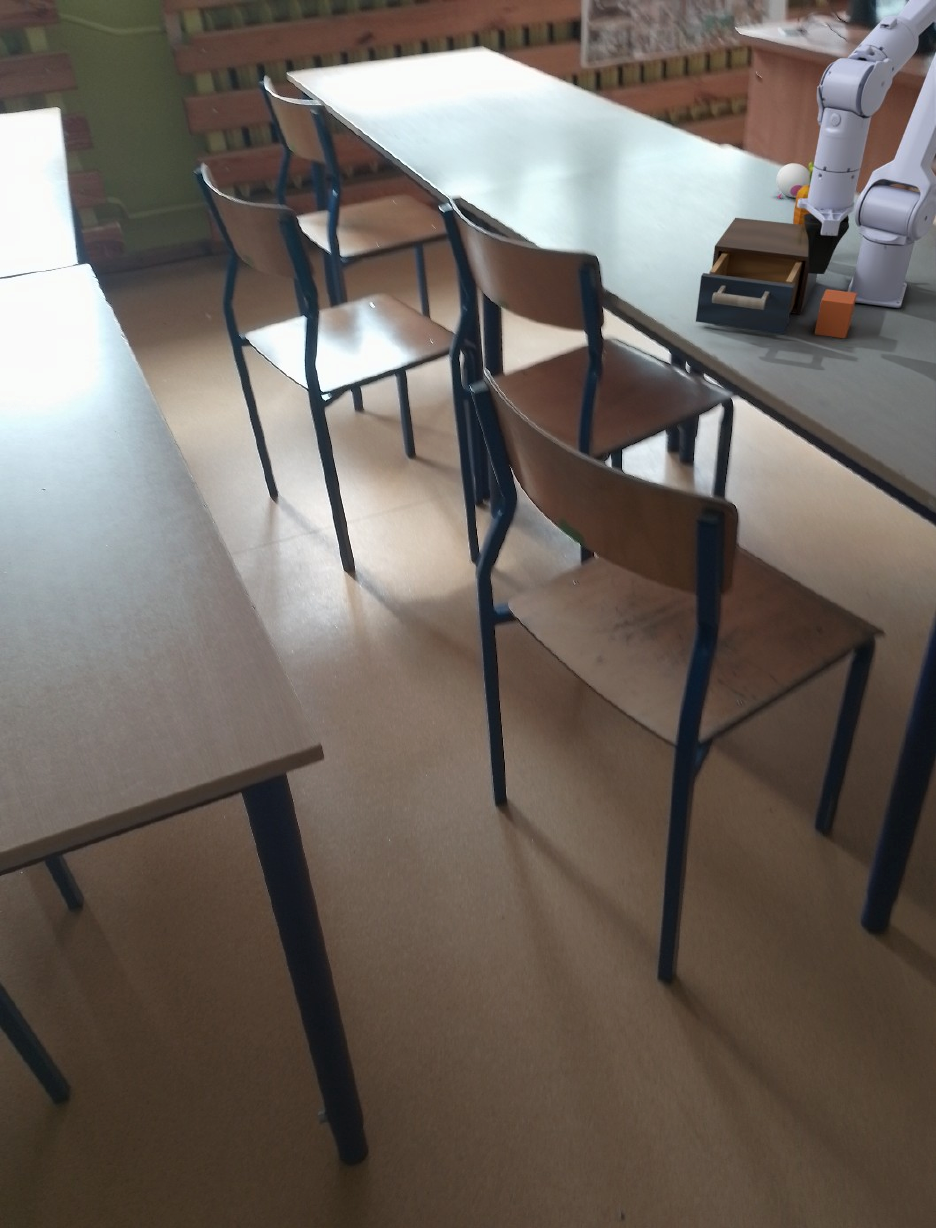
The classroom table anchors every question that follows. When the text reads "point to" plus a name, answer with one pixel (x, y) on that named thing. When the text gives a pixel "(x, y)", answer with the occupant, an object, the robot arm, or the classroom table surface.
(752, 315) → the drawer
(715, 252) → the cabinet
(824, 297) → the block
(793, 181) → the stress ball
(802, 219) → the carrot
